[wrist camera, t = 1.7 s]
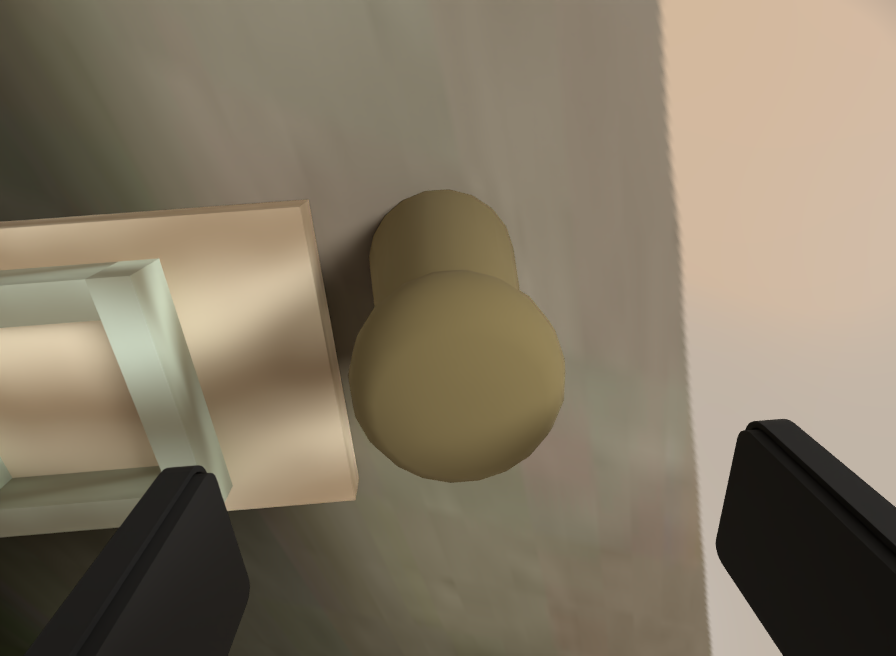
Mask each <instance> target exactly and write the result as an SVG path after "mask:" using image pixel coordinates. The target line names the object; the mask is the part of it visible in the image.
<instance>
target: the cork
mask: <svg viewBox="0 0 896 656" xmlns="http://www.w3.org/2000/svg"><path fill="white" fill-rule="evenodd" d="M369 263H370V272H371V281H372V289H373V298H374V309H373V310H372V312H371V314H370V315H369V317H368V318H367V320H366V322H365V323H364V325H363V326H362V328H361V330H360V331H359V333H358V335H357V338H356V341H355V344H354V348H353V353H352V358H351V363H350V368H349V373H348V379H349V385H350V391H351V397H352V403H353V408H354V413H355V417H356V419H357V420H358V422H359V424H360V426H361V427H362V429H363V431H364V433H365V434H366V436H367V438H368V439H369V441H370V442H371V443H372V444H373V445H374V446H375V447H376V448H377V449H378V450H380V451H381V452H382V453H383V454H384V455H385V456H386V457H388V458H389V459H390V460H391V461H392V462H393V463H394V464H396V465H397V466H398V467H400V468H402V469H404V470H407V471H409V472H411V473H413V474H415V475H417V476H420V477H422V478H426V479H432V480H438V481H444V482H450V483H452V482H465V481H477V480H482V479H485V478H488V477H490V476H493V475H496V474H499V473H502V472H505V471H507V470H509V469H510V468H512V467H513V466H515V465H516V464H518V463H519V462H521V461H522V460H524V459H526V458H527V457H529V456H530V455H531V454H532V452H533V451H534V450H535V449H536V448H537V447H538V445H539V444H540V443H541V442H542V441H543V440H544V438H545V437H546V436H547V435H548V433H549V432H550V430H551V428H552V427H553V425H554V422H555V420H556V417H557V415H558V413H559V410H560V408H561V406H562V403H563V401H564V384H565V361H564V356H563V353H562V350H561V347H560V344H559V341H558V338H557V335H556V332H555V330H554V328H553V327H552V325H551V323H550V322H549V320H548V319H547V318H546V317H545V315H544V314H543V313H542V312H541V310H540V309H539V308H538V307H537V305H536V304H535V303H534V302H533V300H532V299H531V298H530V297H529V296H528V295H526V294H524V293H523V292H521V291H520V290H519V283H518V277H517V270H516V264H515V257H514V250H513V246H512V243H511V240H510V237H509V234H508V231H507V228H506V226H505V225H504V223H503V222H502V221H501V219H500V218H499V217H498V216H497V214H496V213H495V212H494V210H493V209H492V208H491V207H489V206H487V205H486V204H484V203H483V202H481V201H480V200H478V199H477V198H475V197H474V196H472V195H468V194H465V193H461V192H457V191H453V190H434V191H424V192H422V193H419V194H417V195H414V196H412V197H410V198H407V199H405V200H403V201H401V202H400V203H399V204H398V205H397V206H396V207H395V208H393V209H392V210H391V211H390V212H389V213H388V214H386V215H385V217H384V218H383V220H382V222H381V223H380V225H379V227H378V229H377V230H376V232H375V234H374V235H373V240H372V245H371V250H370V255H369Z"/></svg>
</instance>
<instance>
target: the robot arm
mask: <svg viewBox="0 0 896 656" xmlns="http://www.w3.org/2000/svg"><path fill="white" fill-rule="evenodd" d="M716 550H717V553H718V556H719V559H720V560H721V563H722V564H723V566H724V567H725V569H726V570H727V572H728V573H729V575H730V576H731V578H732V579H733V581H734V582H735V584H736V585H737V587H738V588H739V590H740V591H741V593H742V594H743V596H744V597H745V599H746V600H747V602H748V603H749V605H750V607H751V608H752V609H753V611H754V612H755V614H756V616H757V617H758V619H759V620H760V621H761V623H762V625H763V626H764V628H765V629H766V631H767V632H768V634H769V635H770V637H771V638H772V640H773V641H774V643H775V644H776V646H777V647H778V649H779V650H780V652H781V653H782V655H783V656H896V507H895V506H893V505H892V504H891V503H890V502H888V501H887V500H886V499H885V498H884V497H882V496H881V495H880V494H879V493H878V492H877V491H875V490H874V489H873V488H872V487H870V486H869V485H868V484H867V483H866V482H864V481H863V480H862V479H861V478H860V477H858V476H857V475H856V474H855V473H854V472H852V471H851V470H850V469H849V468H848V467H846V466H845V465H844V464H843V463H842V462H840V461H839V460H838V459H837V458H835V457H834V456H833V455H832V454H831V453H829V452H828V451H827V450H826V449H825V448H824V447H822V446H821V445H820V444H819V443H818V442H816V441H815V440H814V439H813V438H812V437H810V436H809V435H808V434H807V433H805V432H804V431H803V430H801V428H800V427H798V426H797V425H796V424H795V423H793V422H791V421H790V420H787V419H777V420H765V421H753V422H751V423H749V424H748V426H747V427H746V430H744V431H741V432H740V433H739V435H738V438H737V442H736V447H735V452H734V457H733V461H732V466H731V471H730V476H729V480H728V485H727V490H726V495H725V499H724V505H723V509H722V514H721V518H720V524H719V528H718V533H717V537H716ZM249 589H250V584H249V578H248V575H247V572H246V569H245V565H244V562H243V559H242V556H241V553H240V550H239V547H238V544H237V540H236V537H235V534H234V531H233V528H232V525H231V522H230V519H229V515H228V512H227V509H226V506H225V503H224V500H223V497H222V494H221V490H220V487H219V484H218V481H217V478H216V476H215V475H214V474H213V473H207V472H206V469H205V468H204V467H203V466H200V465H194V466H182V467H169V468H166V469H164V470H163V471H162V472H161V473H160V474H159V475H158V476H157V478H156V479H155V480H154V482H153V483H152V484H151V486H150V487H149V488H148V490H147V491H146V492H145V494H144V495H143V496H142V498H141V499H140V500H139V502H138V503H137V504H136V506H135V507H134V508H133V510H132V511H131V512H130V514H129V515H128V516H127V518H126V519H125V520H124V522H123V523H122V525H121V526H120V527H119V529H118V530H117V531H116V533H115V534H114V535H113V537H112V538H111V539H110V541H109V542H108V543H107V545H106V546H105V547H104V549H103V550H102V551H101V553H100V554H99V555H98V557H97V558H96V559H95V561H94V562H93V563H92V565H91V566H90V567H89V569H88V570H87V571H86V573H85V574H84V575H83V577H82V578H81V580H80V581H79V582H78V584H77V585H76V586H75V588H74V589H73V590H72V592H71V593H70V594H69V596H68V597H67V598H66V600H65V601H64V602H63V604H62V605H61V606H60V608H59V609H58V610H57V612H56V613H55V614H54V616H53V617H52V618H51V620H50V621H49V622H48V624H47V625H46V626H45V628H44V629H43V630H42V632H41V633H40V634H39V636H38V637H37V639H36V640H35V641H34V643H33V644H32V645H31V647H30V648H29V649H28V651H27V652H26V653H25V655H24V656H228V653H229V651H230V648H231V645H232V643H233V640H234V637H235V634H236V632H237V629H238V626H239V623H240V621H241V618H242V615H243V613H244V610H245V607H246V604H247V601H248V597H249Z"/></svg>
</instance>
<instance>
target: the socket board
mask: <svg viewBox="0 0 896 656" xmlns="http://www.w3.org/2000/svg"><path fill="white" fill-rule="evenodd" d="M194 465H200V466H203V467H204V468H205V469H206V472H207V473H213V474H214V475H215V476H216V478H217V481H218V484H219V487H220V490H221V494H222V497H223V500H224V503H225V506H226V509H227V511H232V510H244V509H256V508H268V507H279V506H291V505H303V504H314V503H326V502H338V501H350V500H355V499H356V493H357V487H358V481H359V476H358V471H357V465H356V459H355V454H354V448H353V443H352V437H351V432H350V426H349V421H348V415H347V410H346V404H345V399H344V393H343V388H342V382H341V376H340V371H339V365H338V360H337V354H336V349H335V343H334V338H333V332H332V327H331V321H330V316H329V310H328V305H327V299H326V293H325V288H324V282H323V277H322V271H321V266H320V260H319V255H318V249H317V244H316V238H315V233H314V227H313V222H312V216H311V210H310V205H309V199H307V200H293V201H280V202H266V203H252V204H239V205H225V206H211V207H198V208H184V209H170V210H156V211H143V212H129V213H115V214H102V215H88V216H74V217H61V218H47V219H33V220H19V221H6V222H0V537H11V536H23V535H35V534H46V533H58V532H70V531H82V530H93V529H105V528H117V527H120V526H121V525H122V523H123V522H124V520H125V519H126V518H127V516H128V515H129V514H130V512H131V511H132V510H133V508H134V507H135V506H136V504H137V503H138V502H139V500H140V499H141V498H142V496H143V495H144V494H145V492H146V491H147V490H148V488H149V487H150V486H151V484H152V483H153V482H154V480H155V479H156V478H157V476H158V475H159V474H160V473H161V472H162V471H163V470H164V469H166V468H169V467H182V466H194Z"/></svg>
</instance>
